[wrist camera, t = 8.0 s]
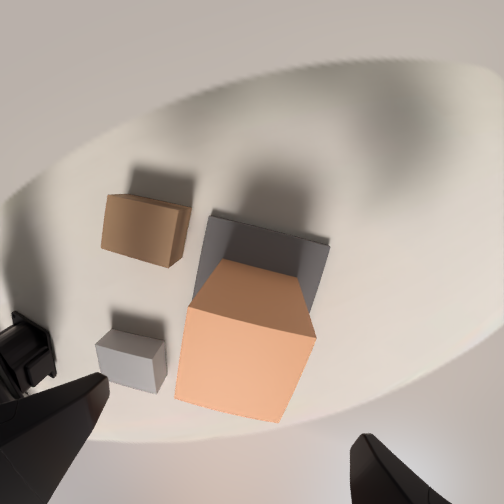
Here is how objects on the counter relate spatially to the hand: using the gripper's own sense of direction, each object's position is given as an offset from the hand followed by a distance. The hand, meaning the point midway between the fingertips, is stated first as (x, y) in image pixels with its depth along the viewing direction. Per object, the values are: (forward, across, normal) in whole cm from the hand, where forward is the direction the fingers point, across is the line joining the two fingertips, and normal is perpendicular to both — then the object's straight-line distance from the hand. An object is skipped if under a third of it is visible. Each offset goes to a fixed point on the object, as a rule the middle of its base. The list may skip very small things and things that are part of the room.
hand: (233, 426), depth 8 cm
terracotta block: (+11, 0, 0) cm, 11 cm away
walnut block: (+12, +8, -3) cm, 15 cm away
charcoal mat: (+12, 0, 0) cm, 12 cm away
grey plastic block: (+12, +8, +8) cm, 16 cm away
